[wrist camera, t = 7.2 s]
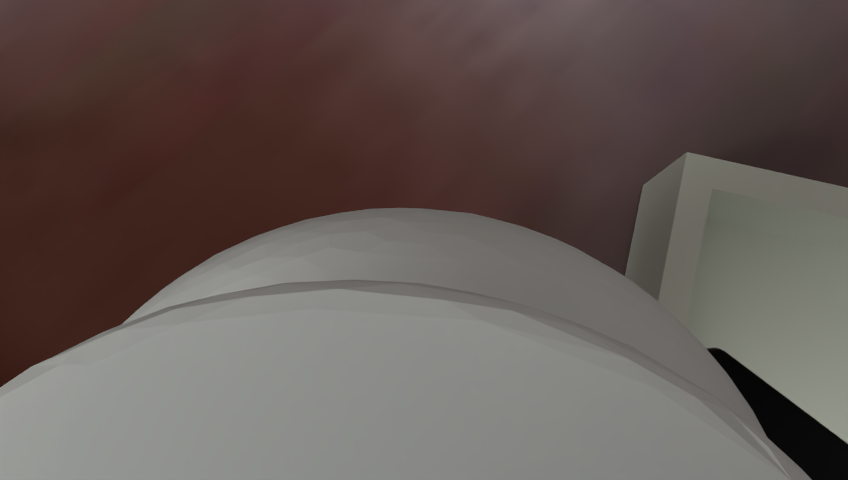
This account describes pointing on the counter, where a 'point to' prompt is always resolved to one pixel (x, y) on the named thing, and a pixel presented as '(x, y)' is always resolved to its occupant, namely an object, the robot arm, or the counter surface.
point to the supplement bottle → (389, 369)
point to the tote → (753, 272)
